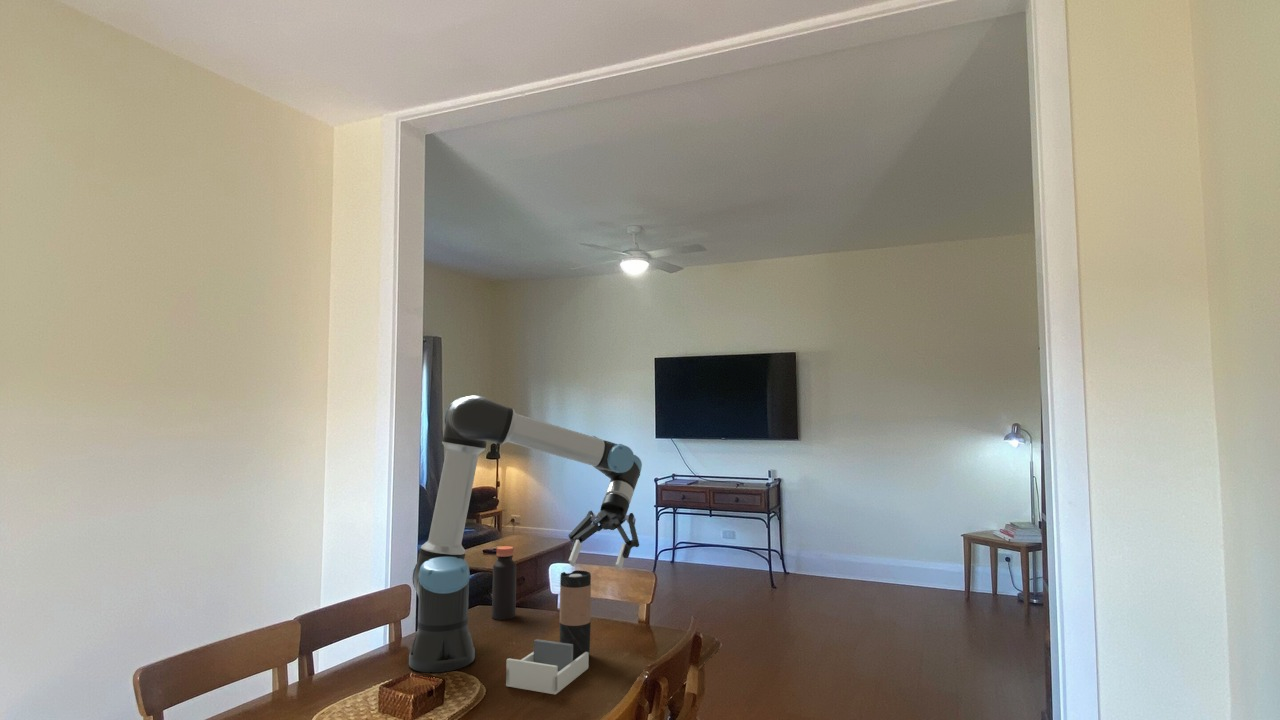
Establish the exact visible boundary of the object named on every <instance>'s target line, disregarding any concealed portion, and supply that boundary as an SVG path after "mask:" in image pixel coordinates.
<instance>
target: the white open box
mask: <svg viewBox="0 0 1280 720" xmlns="http://www.w3.org/2000/svg"><path fill="white" fill-rule="evenodd" d="M589 658H590V653H589V652H585V653H583V654H582V655H580V656H579V657H578V658H576V659H575V660H574V661H572V662H571V663H570V664H568V665H567V666H566V667H564V668H563V669H562V670H560V671H559V672H558V666H556V665H549V664H543V663H536V662H533V659H534V651H532V652H531V653H529V654H528V655H526V656H524V657H523V658H521V659H517V658H510V657H509V658H507V659H506V664H505V665H506V666H505V667H506V668H505V669H506V670H505V671H506V673H505V675H506V676H505V686H506V687H510V688H515V689H521V690H526V691H527V690H528V691H533V692H539V693H545V694H551V695H555V696H556V695H557V694H558V693H560V692H561V691H562V690H563V689H565V688H566V687H567V686H568V685H570V683H572V682H573V681H575V680H576V679H577V678H578V677H579V676H580V675H582V674H583V673H585V672H586V671H587V670H588V669H589Z"/></svg>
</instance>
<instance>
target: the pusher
mask: <svg viewBox="0 0 1280 720" xmlns="http://www.w3.org/2000/svg"><path fill="white" fill-rule="evenodd" d="M533 652H534V659H533V662H536V663H543V664H549V665H556V666H558V672H559V671H560V670H562V669H563V668H564V667H566V666H567V665H568V664H570V663H571V662H572V661H573V644H568V643H561V642H560V641H552V640H545V639H539V638H536V639H534V640H533Z"/></svg>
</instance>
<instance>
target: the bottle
mask: <svg viewBox="0 0 1280 720" xmlns="http://www.w3.org/2000/svg"><path fill="white" fill-rule="evenodd" d="M496 558H497V560H496V562H494V563H493V566H492V596H491V597H492V602H491V603H492V607H491V616H492V618H493V620H495V621H496V620H497V621H507V620H512V619H514V618H515V617H516V610H517V607H516V604H517V603H516V601H517V564H516V562H515V561H514V560H513V558H514V547H513V546H511V545H510V546H508V545H504V546H503V545H502V546H497V547H496Z"/></svg>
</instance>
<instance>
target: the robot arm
mask: <svg viewBox="0 0 1280 720" xmlns="http://www.w3.org/2000/svg"><path fill="white" fill-rule="evenodd" d="M444 425H445V426H444V429H443V430H444V431H443V436H442V442H441V444H442V445H443V446H444V448H445V455H444V460H443V466H442V469H441V475H440V479H439V480H440V481H439V485H438V489H437V496H436V500H435V505H434V509H433V515H432V520H431V524H430V529H429V534H428V539H427V541H425V542H424V543H423V544H422V545H420V548H419V554H418V559H417V562H416V564H415V565H414V569H412V570H413V571H412V578H411V579H412V585H413V588H414V591H416V595H417V597H418V604H417V605H418V607H417V609H418V610H417V611H418V612H417V631H416V634H415V637H414V640H413V642H412V646H411V649H410V651H409V654H408V655H409V656H408V666H409V668H410V669H412V670H414V671H416V672H422V673H430V672H432V673H446V672H452V671H455V670H459V669H462V668H465V667H467V666H469V665H471V664H472V663H473V662H474V661H475V656H476V655H475V653H476V652H475V650H476V649H475V646H474V644H473V640H472V635H471V631H470V629H469V598H470V597H469V594H470V593H469V591H470V590H469V589H470V587H469V586H470V577H471V573H470V567H469V563H468V562H467V560H465V557H466V550H465V548H464V546H463V545H462V542H463V539H464V538H463V537H464V533H465V526H466V522H467V516H468V511H469V507H470V501H471V497H472V491H473V486H474V480H475V476H476V470H477V467H478V466H477V465H478V462H479V461H478V459H479V455H480V454H481V453H483V452H484V451H486V449H487V443H488V442H490V443H494V444H498V445H504V444H506V443H510V444H513V445H518V446H520V447H524V448H527V449H531V450H534V451H535V450H536V451H538V452H541V453H545V454H549V455H553V456H556V457H560V458H564V459H568V460H571V461H574V462H577V463H581V464H582V463H583V464H586V465H589V466H592V467H593V468H594V469H596V470H598V471H599V472H600V473H602V474H603V475H605V476H606V477H608V478H609V479H610V481H609V485H608V486H607V489H606V491H605V495H604V497H603V500H602V503H601V505H600V510H599V511H598V512H596V513H595V512H593V510H589V511H588V512H587V513H586V516H584V518H583V519H582V520H581V522H579V523H578V525H576V526H575V528H574V529H572V531H571V532H569V534H568V536H567V537H568V539H569V540H570V542H571V545H570V548H569V552H570V555H569V558H568V562H569V564H570V566H571V567H575V565H576V563H577V560H578V558H579V554H580V552H581V549H582V547H583V545H582V543H583V542H584V541H586V540H587V539H589V538H590V537H592V536H593V535H594V534H595V533H597V532H600V531H602V530H603V531H604V530H610V531H615V530H616V529H617V531H618V533H619V534H620V536H621V538H622V540H623V542H622V543H621V546H620V550H619V552H618V556H617V559H616V562H615V566H616V568H617V570H618V571H622V569H623V566H624V562H625V560H626V559H628V558H629V556H630V553H631V550H632V548H634V547H635V548H639V547H640V542H639V541H640V540H639V537H638V533H637V529H636V517H635V515H634V513H633V512H630V513H629V514H628V511H629V508H630V504H631V501H632V498H633V495H634V493H635V489H636V487H637V485H638V484H637V483H638V480H639V478H640V476H641V471H642V468H643V467H642V466H643V462H642V460H641V458H640V457H639V456H637V454H634V452H633V450H632V448H630V447H629V446H627V445H625V444H622V443H615V442H612V441H609V440H604V439H602V438H599V437H597V436H596V435H588V434H585V433H582V432H579V431H575V430H571V429H568V428H565V427H561V426H558V425H554V424H551V423H548V422H544V421H541V420H539V419H535V418H531V417H528V416H525V415H522V414H519V413H516V411H515V409H514V408H512V407H509V406H505V405H503V404H501V403H499V402H495V401H493V400H491V399H489V398H486V397H484V396H481V395H466V396H462V397H458V398H457V399H455V400H454V401H453V402H451V403H450V405H449V406H448V407H447V409H446V411H445V414H444ZM625 522H626V523H627V524H628V526H629V530H630V531H629V532H630V535H631V540H630V538H629V537H628V535H627V533H626V531H625V530H624V527H623V526H622V525H623V524H624V523H625ZM445 671H446V672H445ZM432 673H431V674H432Z"/></svg>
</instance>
